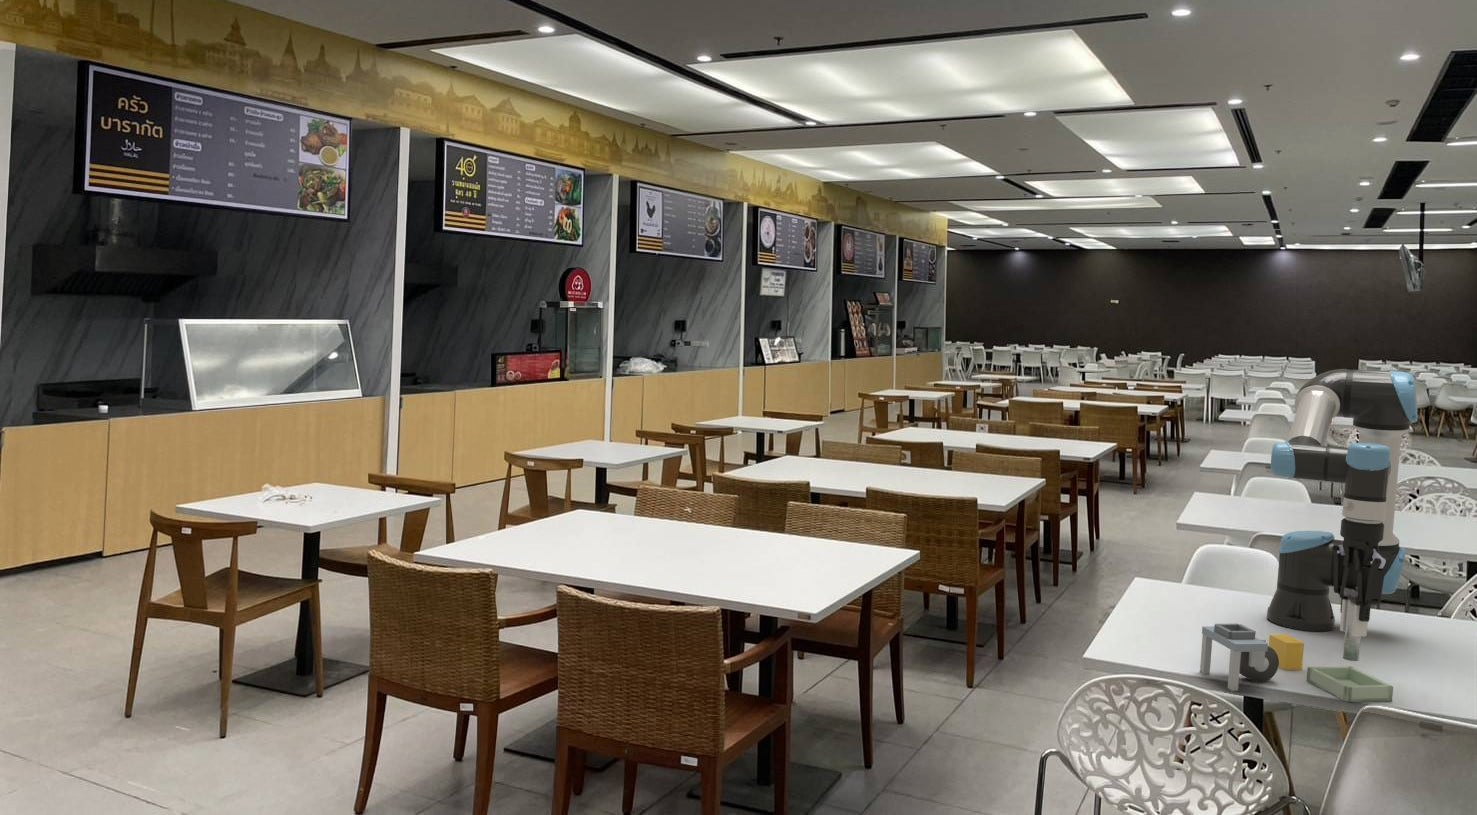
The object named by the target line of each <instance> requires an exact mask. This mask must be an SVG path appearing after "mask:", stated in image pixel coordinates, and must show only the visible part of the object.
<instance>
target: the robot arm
mask: <svg viewBox="0 0 1477 815" xmlns="http://www.w3.org/2000/svg"><path fill="white" fill-rule="evenodd" d="M1294 408H1295V411H1296V412H1295V414H1294V418H1293V421H1292V424H1291V428H1290V430H1289V434H1288V438H1287V439H1286V441H1285V442H1281V441H1280V442H1279V441H1278V442H1275V443H1274V444H1273V445H1272V449H1271V455H1270V456H1271V457H1270V472H1271V473H1272V474H1273V475H1274V476H1276V477H1280V478H1281V477H1283V478H1288V479H1297V480H1299V479H1300V480H1309V481H1310V480H1311V481H1321V482H1330V483H1331V482H1332V483H1338V484H1344V491H1343V492H1344V493H1343V501H1342V512H1341V515H1342V516H1343V517H1344V518H1342V519H1341V521H1340V533H1339V535H1340V536H1341V537H1342V538H1343V540H1339V539H1335V538H1336V537H1335V535H1334V533H1333V532H1329V531H1322V530H1298V531H1291V532H1287V533H1285V534H1283V536H1282V537H1281V539H1280V545H1279V546H1280V547H1279V549H1278V553H1279V558H1278V570H1277V581H1276V589H1275V592H1274V594H1273V596H1272V599H1271V601H1270V604H1269V606H1268V607H1267V611H1266V619H1267V620H1268V619H1269V620H1270V621H1269V620H1268V621H1269V622H1271V621H1272V622H1271V623H1273V622H1274V623H1273V624H1275V623H1277V624H1276V625H1278V624H1279V626H1281V625H1282V627H1285V628H1289V629H1294V630H1301V631H1309V632H1326V631H1327V632H1328V631H1333V630H1334V629H1335V624H1336V623H1335V622H1336V618H1335V616H1334V610H1333V607H1332V604H1331V603H1332V602H1331V599H1330V588H1331V587H1333V593H1335V594H1338V595H1339V597H1340V609H1339V610H1340V626H1339V631H1340V632H1345V626H1346V614H1347V603H1348V597H1346V596H1344V587H1358V602H1355V604H1354V615H1353V626H1352V636H1354V637H1357V636H1361V637H1367V636H1368V635H1367V633H1368V626H1369V625H1368V622H1369V621H1370V617H1371V608H1372V606H1375V605H1377V606H1378V605H1380V604H1381V597H1382V594H1383V595H1390V594H1394V593H1395V592H1396V591H1397V588H1398V585H1399V582H1400V577H1401V574H1402V570H1403V566H1404V562H1405V557H1406V552H1407V551H1406V548H1404V547H1402V546H1400V539H1399V538H1398V537H1397V536H1396V535H1395V534H1394V524H1395V523H1394V522H1395V513H1396V512H1395V511H1396V500H1397V498H1396V497H1397V490H1398V488H1397V487H1398V476H1399V465H1400V456H1401V455H1400V454H1401V444H1402V443H1401V442H1402V436H1403V435H1404V434H1406V433H1407V432H1408V431H1410V425H1411V424H1414V423H1416V422H1418V401H1417V387H1416V379H1415V377H1414V376H1413V375H1412V374H1411V373H1408V372H1402V371H1394V370H1371V369H1370V370H1369V369H1368V370H1367V369H1347V368H1339V369H1332V370H1328V371H1326V372H1323V373H1320V374H1318V375H1315V376H1314V377H1312V378H1311V379H1309V380H1308V381H1306V382H1305V383H1303V385H1302V386H1301V387H1300V388H1299V390H1298V392H1297V393H1296V396H1295V399H1294ZM1334 418H1348V419H1352V420H1353V421H1352V427H1353V428H1354V429H1355V430H1356V431H1357V432H1358V442H1353V443H1350V444H1349V445H1348V447H1339V446H1329V445H1327V442H1328V436H1329V433H1330V429H1331V425H1332V421H1333V419H1334Z"/></svg>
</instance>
